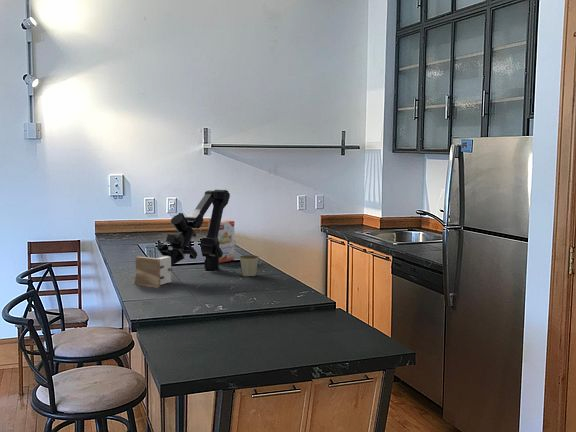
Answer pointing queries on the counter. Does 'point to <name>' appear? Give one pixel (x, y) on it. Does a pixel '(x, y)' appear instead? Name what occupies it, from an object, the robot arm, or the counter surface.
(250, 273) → the flower pot
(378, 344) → the counter surface
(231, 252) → the cracker box
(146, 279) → the cabinet corner
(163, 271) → the door panel
